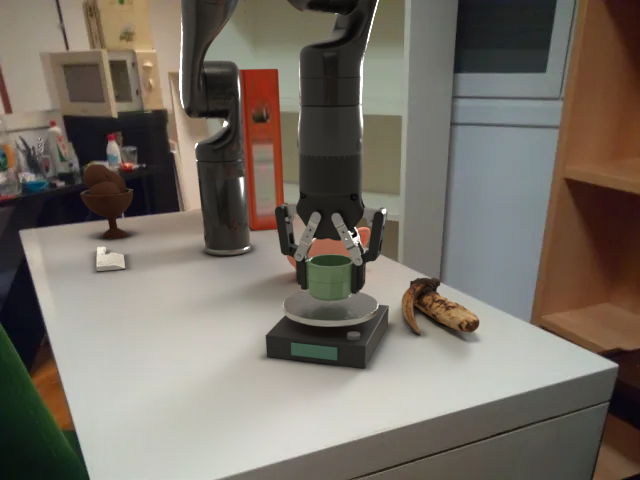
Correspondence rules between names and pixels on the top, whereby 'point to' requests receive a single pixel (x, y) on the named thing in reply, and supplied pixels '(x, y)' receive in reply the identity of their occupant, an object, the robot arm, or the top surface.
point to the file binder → (262, 145)
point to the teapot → (332, 246)
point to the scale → (327, 341)
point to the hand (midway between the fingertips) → (330, 289)
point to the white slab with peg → (109, 260)
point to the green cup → (329, 276)
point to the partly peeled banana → (435, 307)
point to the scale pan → (330, 310)
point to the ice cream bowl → (106, 197)
